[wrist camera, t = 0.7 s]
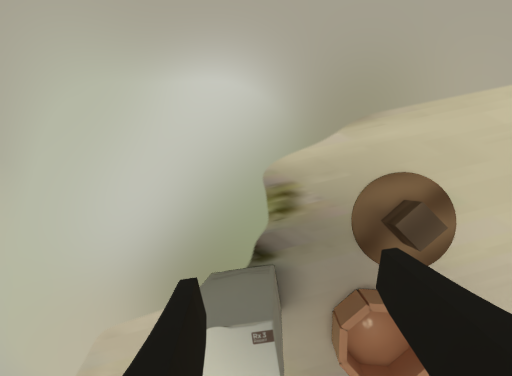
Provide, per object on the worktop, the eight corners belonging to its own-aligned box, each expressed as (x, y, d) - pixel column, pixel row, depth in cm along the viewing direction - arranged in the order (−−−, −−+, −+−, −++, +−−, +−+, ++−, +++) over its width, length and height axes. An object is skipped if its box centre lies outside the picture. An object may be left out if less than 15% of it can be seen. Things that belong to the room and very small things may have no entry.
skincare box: (218, 317, 33) (164, 422, 18) (210, 269, 33) (151, 334, 18) (285, 310, 32) (286, 414, 17) (277, 260, 32) (272, 322, 17)
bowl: (431, 333, 30) (454, 355, 26) (370, 384, 31) (383, 413, 27) (374, 273, 31) (387, 286, 27) (315, 324, 32) (320, 343, 28)
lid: (473, 223, 30) (509, 230, 25) (398, 288, 31) (418, 306, 26) (402, 152, 31) (424, 146, 26) (330, 217, 32) (339, 223, 27)
